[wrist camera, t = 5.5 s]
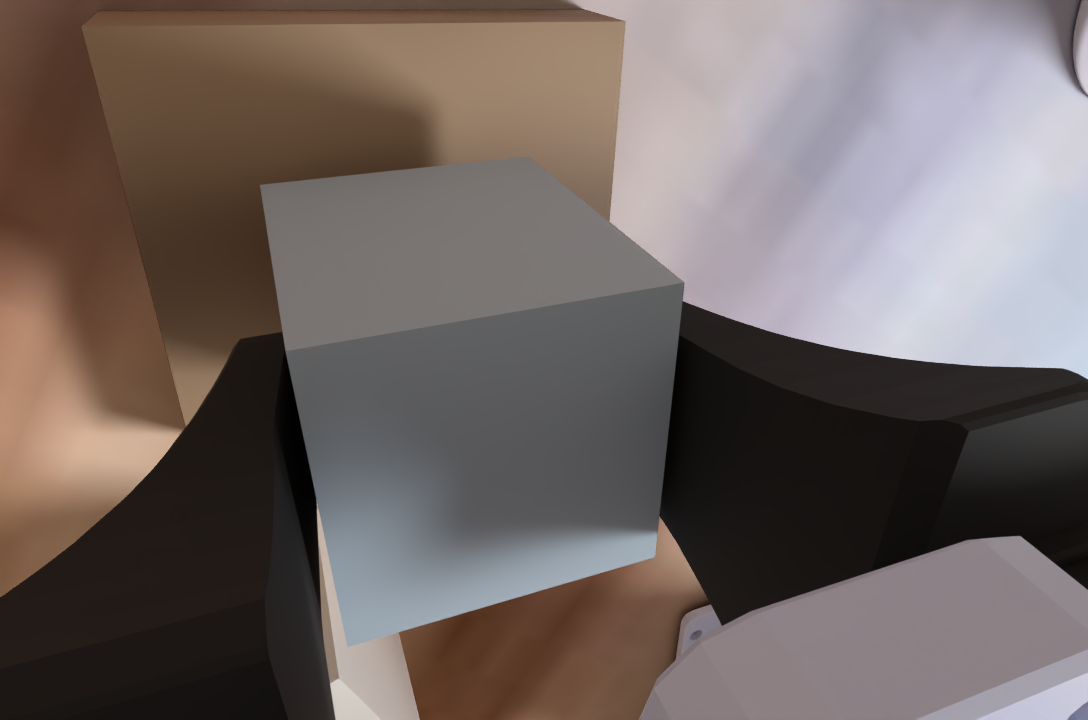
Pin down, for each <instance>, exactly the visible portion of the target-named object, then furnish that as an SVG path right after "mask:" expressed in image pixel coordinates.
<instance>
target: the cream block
mask: <svg viewBox="0 0 1088 720" xmlns="http://www.w3.org/2000/svg"><path fill="white" fill-rule="evenodd" d="M317 523H318V546H319V569H320V593H321V616H322V627H323V638H324V647H325V654H326V660H327V667H328V673H329V680H330V687H331V693H332V700H333V706H334V713H335V719H336V720H420V719H419V714H418V710H417V706H416V702H415V698H414V694H413V689H412V685H411V681H410V677H409V673H408V669H407V664H406V660H405V656H404V652H403V648H402V644H401V639H400V635H399V632H398V633H395V634H391V635H388V636H384V637H381V638H377V639H374V640H371V641H367V642H364V643H360V644H357V645H354V646H350V647H347V642H346V637H345V632H344V628H343V623H342V618H341V613H340V609H339V604H338V599H337V594H336V590H335V585H334V580H333V575H332V570H331V566H330V561H329V556H328V551H327V547H326V542H325V537H324V532H323V528H322V523H321V518H320V513H319V510H318V509H317Z"/></svg>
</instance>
